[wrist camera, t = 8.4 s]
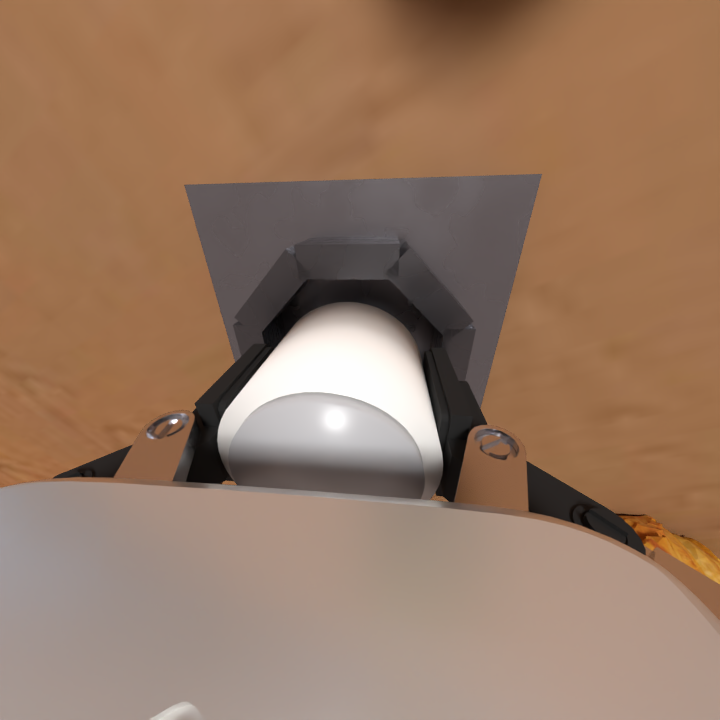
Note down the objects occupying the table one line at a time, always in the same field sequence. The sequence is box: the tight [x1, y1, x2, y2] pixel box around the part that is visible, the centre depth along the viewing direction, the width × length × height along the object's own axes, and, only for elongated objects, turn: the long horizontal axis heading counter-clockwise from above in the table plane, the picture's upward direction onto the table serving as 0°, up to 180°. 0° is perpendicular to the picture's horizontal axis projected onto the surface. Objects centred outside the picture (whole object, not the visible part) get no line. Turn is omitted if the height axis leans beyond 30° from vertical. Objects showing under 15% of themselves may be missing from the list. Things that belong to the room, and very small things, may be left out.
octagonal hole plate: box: [185, 174, 542, 408], centre depth 13 cm, size 14×14×3 cm
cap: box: [217, 302, 443, 500], centre depth 9 cm, size 6×6×5 cm
